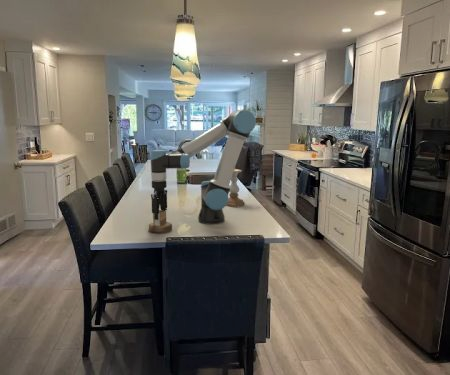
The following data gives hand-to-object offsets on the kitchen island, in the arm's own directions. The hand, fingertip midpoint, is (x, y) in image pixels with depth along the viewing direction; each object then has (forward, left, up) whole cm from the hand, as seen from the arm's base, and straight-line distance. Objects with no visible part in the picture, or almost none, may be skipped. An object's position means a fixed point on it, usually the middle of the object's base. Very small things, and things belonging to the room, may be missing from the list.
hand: (160, 223), depth 194 cm
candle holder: (-20, -67, -4) cm, 70 cm away
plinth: (0, 0, -3) cm, 3 cm away
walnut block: (0, 0, 0) cm, 0 cm away
